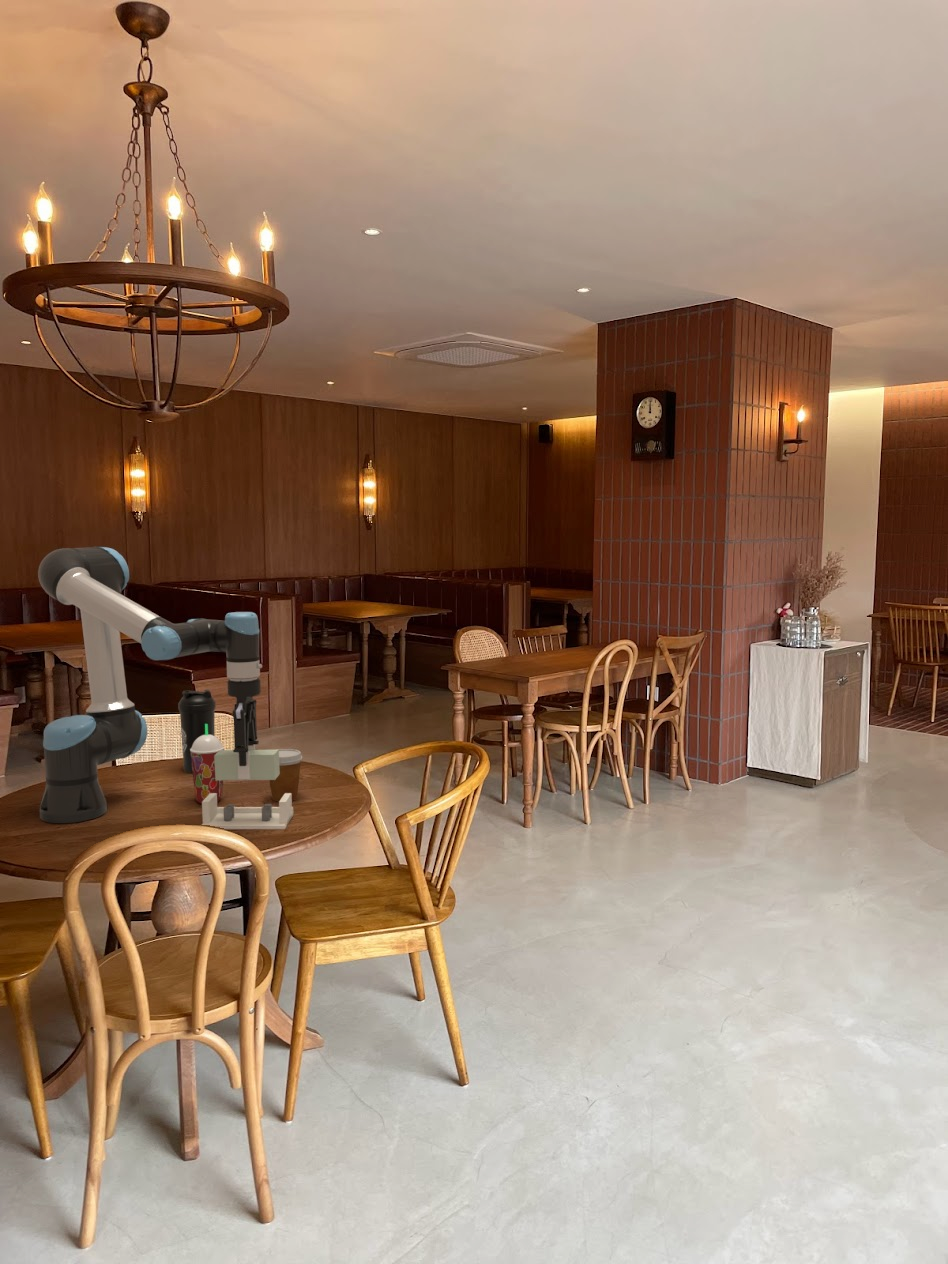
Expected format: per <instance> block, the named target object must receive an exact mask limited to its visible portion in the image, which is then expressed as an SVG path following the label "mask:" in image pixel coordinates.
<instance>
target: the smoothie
mask: <svg viewBox="0 0 948 1264" xmlns="http://www.w3.org/2000/svg"><path fill="white" fill-rule="evenodd" d="M220 750H225V746H224V745H223V743H222V742H221V740H220V739H219V738H218V737H217V736H215V735H214V736H213V735H210V734H208V724H205V735H202V736H200V737H198V738H197V739H196V740H195V741H194V743H193V745H192V748H191V749H190V752H191V762H192V772H193V774H192V779H193V780H192V781H193V788H194V789H193V790H194V791H193V792H194V798H196V801H197V803H198V804H202V801H203V800H204V799H205V798H206V797H207V796H208V795H209V794H210V793H217V803H218V802H219V801H221V799H222V796H223V794H224V793H223V792H224V791H223V790H224V788H223V787H224V786H223V785H224V780H216V779H215V759H214V755H215V754H217V753H218V752H219V751H220Z"/></svg>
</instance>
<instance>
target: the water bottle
mask: <svg viewBox="0 0 948 1264" xmlns="http://www.w3.org/2000/svg"><path fill="white" fill-rule="evenodd" d="M181 692H182V695H183V696H182V697H181V699H180V700H179V702H178V704H177V705H178V711H179V714H180V715H179V716H180V717H179V720H180V732H181V733H180V735H181V749H182V752H181V753H182V760H183V761H182V762H183V763H182V764H183V772H184V773H186V774H191V775H193V772H192V762H191V752H190V749H191V748H192V745H193V743H194V741H195V740H196V739H197V738H198V737H200V736H202V735H205V724H208V734H210V735H213V736H215V710H216V700H215V699H214V697H213V696H212V692H211V691H210V689H204V690H203V691H197V690H183V691H181Z"/></svg>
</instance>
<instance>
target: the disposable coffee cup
mask: <svg viewBox="0 0 948 1264" xmlns="http://www.w3.org/2000/svg"><path fill="white" fill-rule="evenodd" d="M278 750H279V768H280V774H279V776H278V777H277V778H276V779H275V780H269V786H270V791H271V798H272V801H275V802H276V803H277V802H278V803H279V801H280V800H281V798H282V797H283V795H284V794H285V793H291V794H292V801H295V800H297V799H298V792H299V782H300V772H301V763H302V761H303V760H302V759H303V755H302V753H301V751H300V750H298V749H292V748H284V749H283V748H281V749H278Z"/></svg>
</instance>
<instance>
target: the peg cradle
mask: <svg viewBox="0 0 948 1264" xmlns="http://www.w3.org/2000/svg"><path fill="white" fill-rule="evenodd" d="M292 803H293V802H292V794H291V793H285V794H284V795H283V797H282V798H281V800H280V801H279V802H278V806H272V803H265V804H263V806H235V804H234V803H228V804H225V806H218V802H217V793H210V794H209V795H208V796H207V797H206V798H205V799H204V800H203V801H202V803H201V808H202V809H201V813H202V815H201V817H202V823H201V825H210V826H215V827H220V828H224V829H223V830H285V829H286V828H287V826H288V825H289V823H290V822H291V820H292V818H293V817H294V806H292V805H293V804H292Z"/></svg>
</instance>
